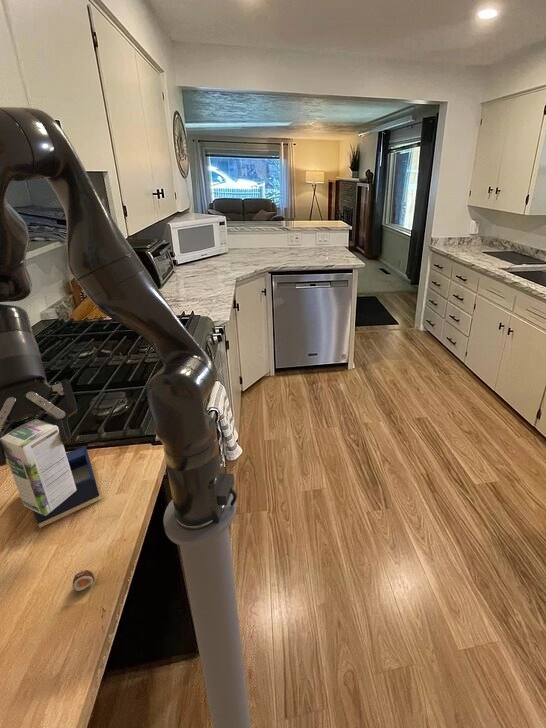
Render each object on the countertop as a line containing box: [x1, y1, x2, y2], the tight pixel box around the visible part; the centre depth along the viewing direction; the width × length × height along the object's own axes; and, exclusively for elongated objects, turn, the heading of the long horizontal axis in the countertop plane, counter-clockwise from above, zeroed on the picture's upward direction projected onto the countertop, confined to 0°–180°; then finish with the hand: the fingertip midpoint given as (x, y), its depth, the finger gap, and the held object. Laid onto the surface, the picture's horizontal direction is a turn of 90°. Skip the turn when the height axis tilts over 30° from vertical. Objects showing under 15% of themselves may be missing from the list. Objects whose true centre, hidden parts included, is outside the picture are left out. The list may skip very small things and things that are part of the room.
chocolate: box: [71, 568, 96, 592], centre depth 57 cm, size 3×2×4 cm
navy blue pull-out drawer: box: [33, 445, 101, 529], centre depth 73 cm, size 12×10×7 cm
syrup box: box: [0, 418, 77, 516], centre depth 60 cm, size 6×6×14 cm
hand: (35, 452), depth 58 cm, fingers closed on syrup box, 7 cm apart
